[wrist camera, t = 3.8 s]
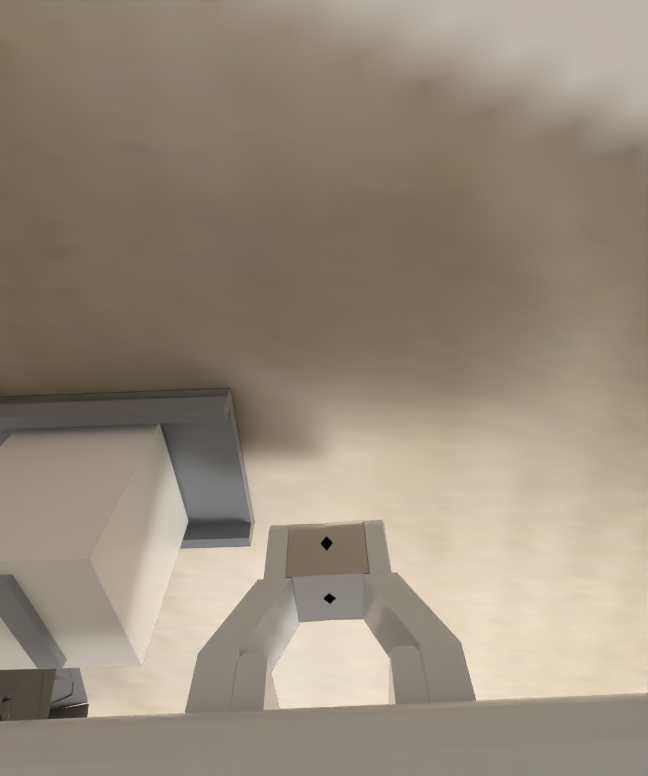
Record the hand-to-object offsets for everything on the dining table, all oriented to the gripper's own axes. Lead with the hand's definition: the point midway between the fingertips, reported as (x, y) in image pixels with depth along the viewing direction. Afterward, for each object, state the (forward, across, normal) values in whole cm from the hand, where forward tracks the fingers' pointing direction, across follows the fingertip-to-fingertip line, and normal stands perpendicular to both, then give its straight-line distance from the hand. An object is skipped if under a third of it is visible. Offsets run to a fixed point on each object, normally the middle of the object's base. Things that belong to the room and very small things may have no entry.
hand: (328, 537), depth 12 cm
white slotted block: (+3, +6, -1) cm, 7 cm away
